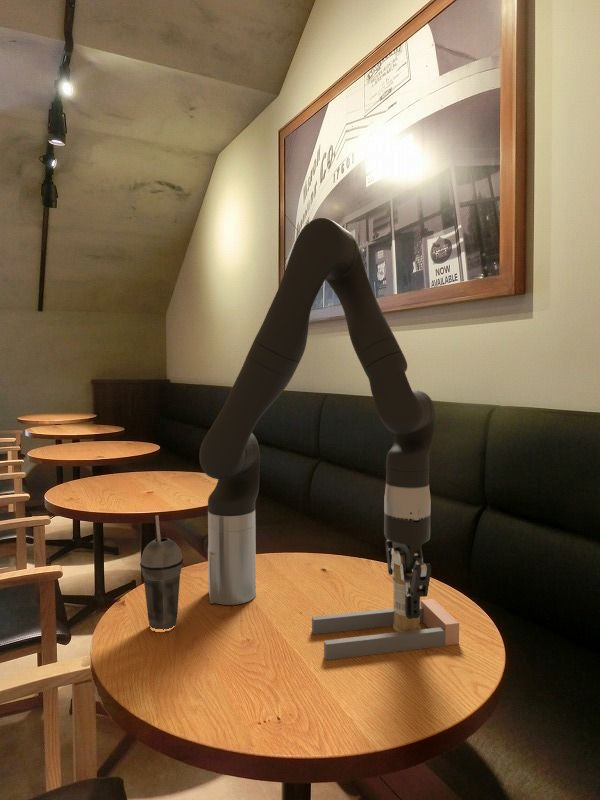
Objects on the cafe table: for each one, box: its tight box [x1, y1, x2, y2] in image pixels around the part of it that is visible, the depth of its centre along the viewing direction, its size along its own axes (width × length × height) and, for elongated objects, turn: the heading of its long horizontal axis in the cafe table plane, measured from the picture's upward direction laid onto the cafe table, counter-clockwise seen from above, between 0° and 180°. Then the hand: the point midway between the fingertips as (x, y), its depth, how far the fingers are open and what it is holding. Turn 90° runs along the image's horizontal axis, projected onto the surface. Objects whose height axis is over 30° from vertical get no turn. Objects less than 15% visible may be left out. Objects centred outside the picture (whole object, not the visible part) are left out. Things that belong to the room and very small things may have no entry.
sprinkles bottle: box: [392, 551, 421, 632], centre depth 90 cm, size 5×5×13 cm
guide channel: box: [311, 598, 460, 661], centre depth 89 cm, size 22×9×4 cm, turn 102°
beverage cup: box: [139, 514, 184, 630], centre depth 93 cm, size 7×7×20 cm
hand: (406, 610), depth 90 cm, fingers closed on sprinkles bottle, 4 cm apart
